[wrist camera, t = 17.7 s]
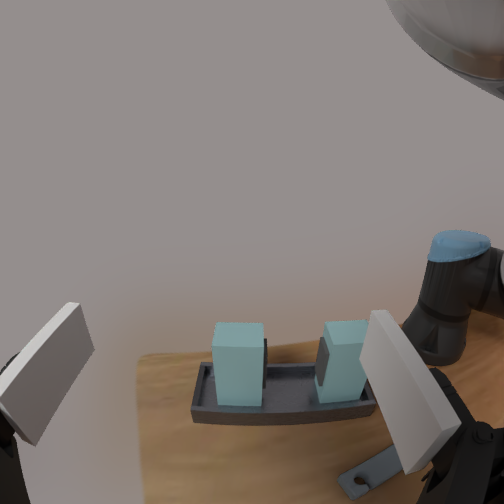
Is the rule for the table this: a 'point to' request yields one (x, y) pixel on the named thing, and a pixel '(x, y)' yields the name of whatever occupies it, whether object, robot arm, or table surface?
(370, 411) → the dark gray tray
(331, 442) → the table surface
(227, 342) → the finger
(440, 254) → the robot arm
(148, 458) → the table surface
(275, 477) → the table surface
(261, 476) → the table surface
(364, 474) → the bracket
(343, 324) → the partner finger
